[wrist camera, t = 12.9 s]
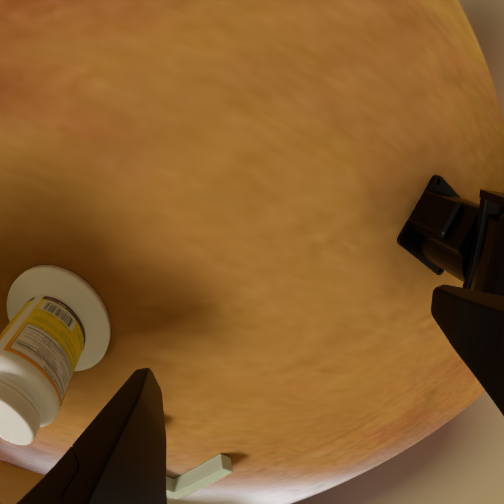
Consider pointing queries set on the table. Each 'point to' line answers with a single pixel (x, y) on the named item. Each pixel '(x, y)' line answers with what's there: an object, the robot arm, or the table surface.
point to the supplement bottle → (37, 365)
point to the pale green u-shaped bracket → (199, 477)
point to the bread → (16, 482)
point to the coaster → (72, 292)
